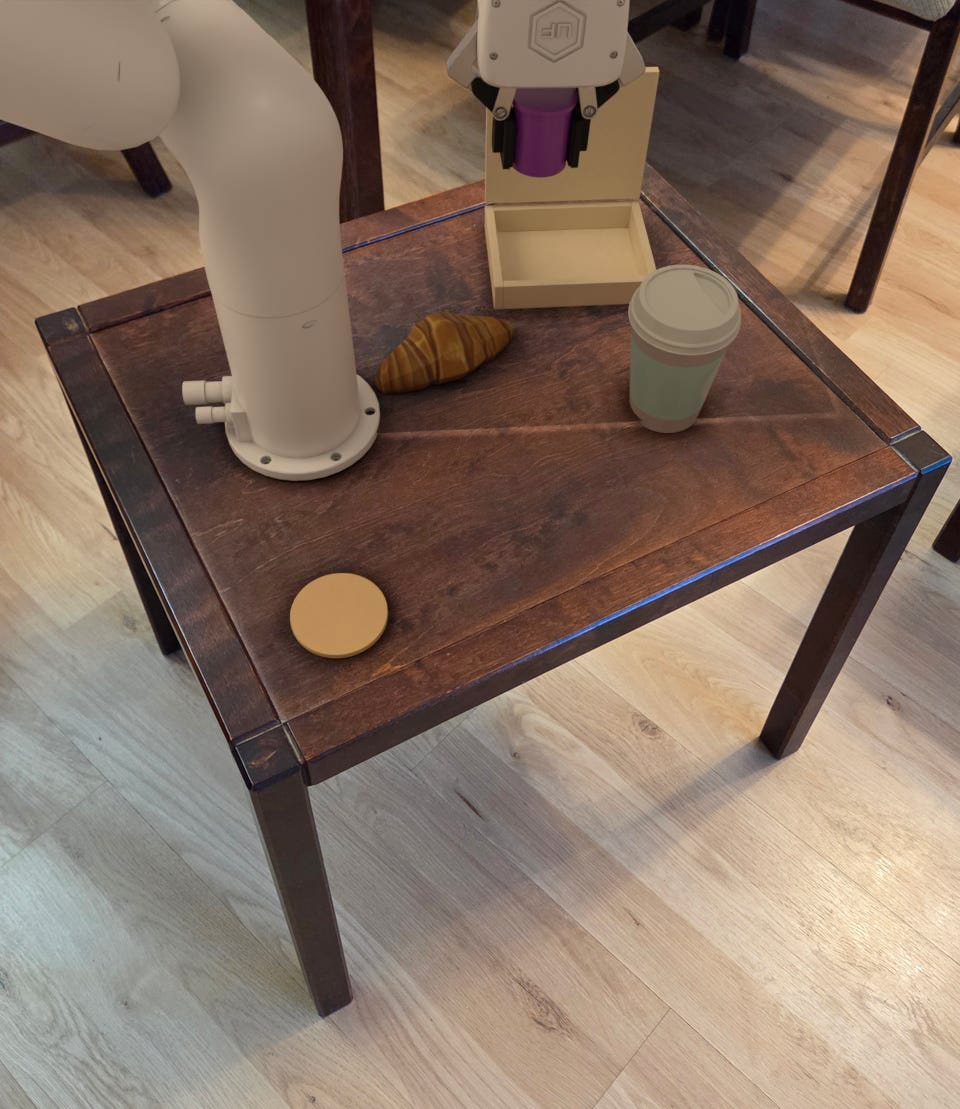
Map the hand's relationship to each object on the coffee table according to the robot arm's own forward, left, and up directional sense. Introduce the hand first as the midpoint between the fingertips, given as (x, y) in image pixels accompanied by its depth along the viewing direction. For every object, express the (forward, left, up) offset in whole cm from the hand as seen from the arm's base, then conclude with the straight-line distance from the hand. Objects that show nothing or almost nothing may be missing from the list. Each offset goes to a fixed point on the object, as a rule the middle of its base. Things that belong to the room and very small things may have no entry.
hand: (538, 156), depth 81 cm
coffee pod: (0, 0, 0) cm, 0 cm away
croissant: (-8, -5, -17) cm, 19 cm away
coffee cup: (+10, -11, -17) cm, 23 cm away
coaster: (-17, -30, -17) cm, 38 cm away
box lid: (+4, +12, -7) cm, 15 cm away
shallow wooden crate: (+4, +7, -17) cm, 19 cm away
